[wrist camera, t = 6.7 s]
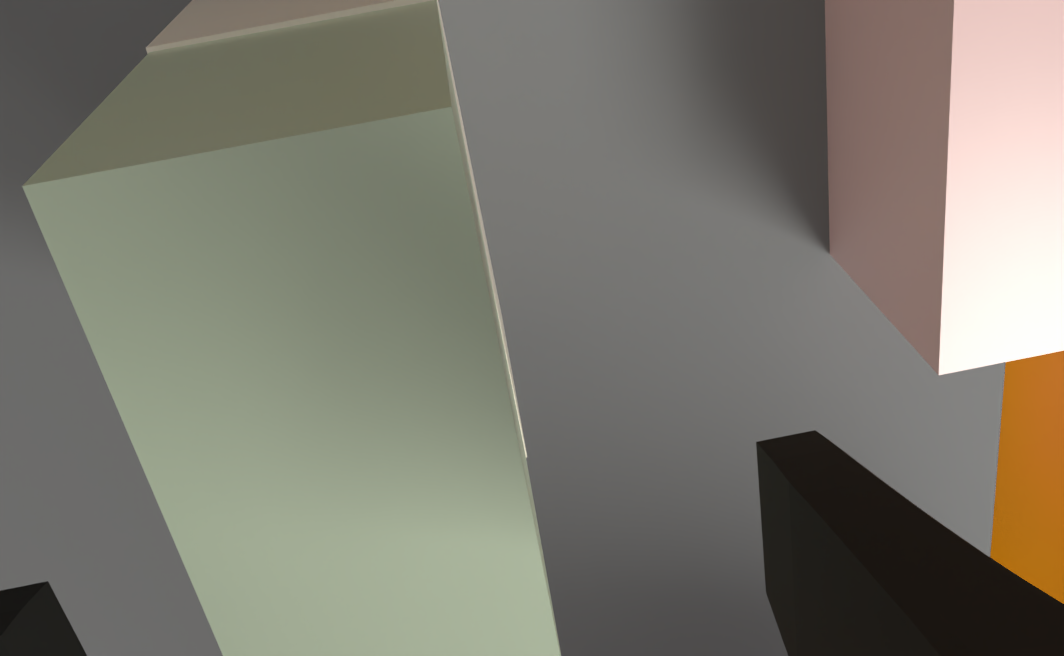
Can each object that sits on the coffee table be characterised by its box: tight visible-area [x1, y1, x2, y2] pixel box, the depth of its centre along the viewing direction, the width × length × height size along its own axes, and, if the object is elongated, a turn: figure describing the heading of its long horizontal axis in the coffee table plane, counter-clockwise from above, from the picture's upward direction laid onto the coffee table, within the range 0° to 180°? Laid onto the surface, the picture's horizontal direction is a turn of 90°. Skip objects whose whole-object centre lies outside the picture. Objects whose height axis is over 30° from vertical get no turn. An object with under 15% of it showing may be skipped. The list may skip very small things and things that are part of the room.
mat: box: [0, 0, 1005, 656], centre depth 20 cm, size 20×22×1 cm
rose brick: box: [825, 0, 1064, 375], centre depth 16 cm, size 7×4×5 cm, turn 10°
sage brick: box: [22, 0, 561, 656], centre depth 12 cm, size 7×4×5 cm, turn 9°
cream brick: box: [146, 0, 527, 458], centre depth 16 cm, size 7×4×5 cm, turn 10°
